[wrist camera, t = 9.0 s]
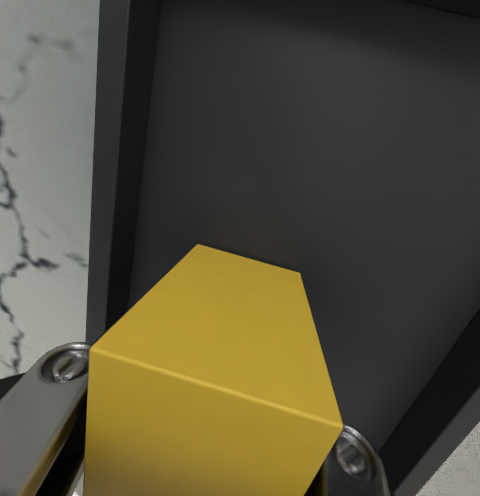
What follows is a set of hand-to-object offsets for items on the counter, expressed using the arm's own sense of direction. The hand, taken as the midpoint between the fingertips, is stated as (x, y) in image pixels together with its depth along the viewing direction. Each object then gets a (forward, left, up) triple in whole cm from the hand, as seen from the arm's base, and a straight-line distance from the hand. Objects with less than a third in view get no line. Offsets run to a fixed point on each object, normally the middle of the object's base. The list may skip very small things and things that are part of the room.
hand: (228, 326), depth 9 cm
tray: (-2, +2, -1) cm, 3 cm away
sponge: (0, 0, 0) cm, 0 cm away
